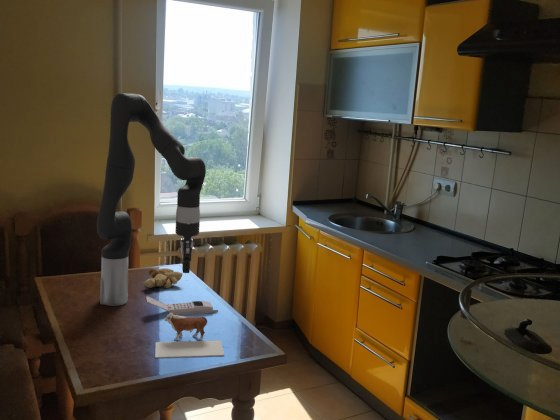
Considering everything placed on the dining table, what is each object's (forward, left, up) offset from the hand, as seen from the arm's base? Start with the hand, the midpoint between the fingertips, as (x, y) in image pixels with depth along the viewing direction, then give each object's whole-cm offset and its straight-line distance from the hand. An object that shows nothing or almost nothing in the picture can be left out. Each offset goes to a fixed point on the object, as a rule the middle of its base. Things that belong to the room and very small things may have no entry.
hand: (185, 271), depth 174 cm
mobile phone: (0, +13, -20) cm, 23 cm away
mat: (+1, -17, -19) cm, 26 cm away
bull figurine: (0, -9, -19) cm, 21 cm away
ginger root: (-7, +43, -19) cm, 48 cm away
